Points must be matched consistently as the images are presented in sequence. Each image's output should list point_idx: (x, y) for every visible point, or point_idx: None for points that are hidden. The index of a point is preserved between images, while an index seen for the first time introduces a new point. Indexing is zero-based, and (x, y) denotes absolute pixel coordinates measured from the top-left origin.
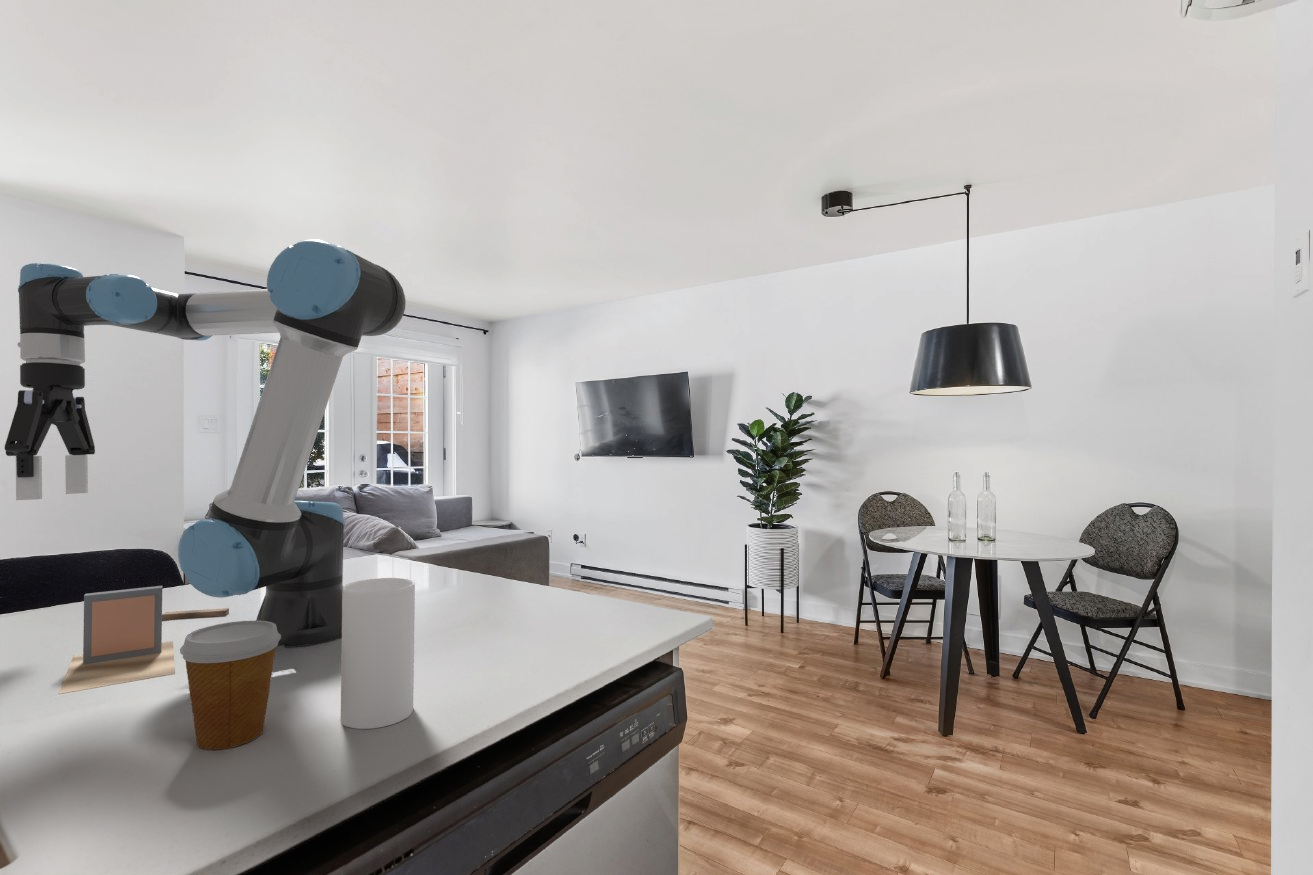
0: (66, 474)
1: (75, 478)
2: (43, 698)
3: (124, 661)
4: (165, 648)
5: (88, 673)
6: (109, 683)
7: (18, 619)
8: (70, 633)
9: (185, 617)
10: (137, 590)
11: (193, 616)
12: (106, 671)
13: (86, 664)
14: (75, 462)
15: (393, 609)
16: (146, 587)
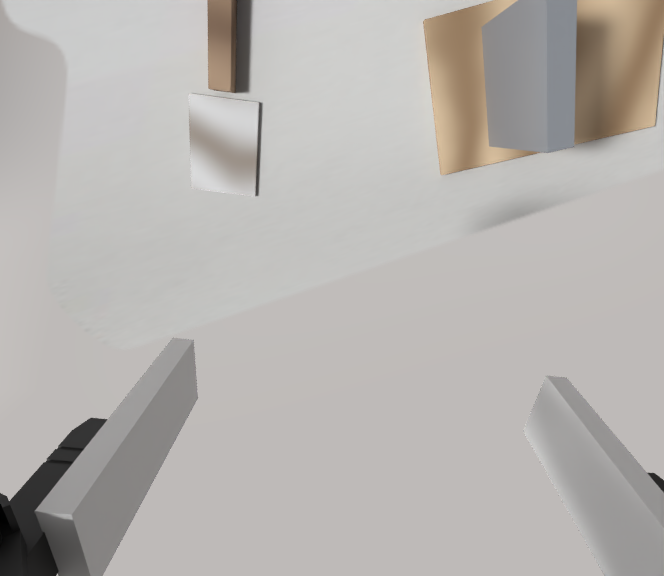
0: (159, 466)
1: (166, 420)
2: (632, 147)
3: None
4: (476, 20)
5: None
6: (652, 62)
7: (145, 336)
8: (264, 233)
9: (234, 41)
10: (575, 35)
11: (233, 22)
12: (575, 89)
13: None
14: (118, 500)
15: None
16: (548, 20)
